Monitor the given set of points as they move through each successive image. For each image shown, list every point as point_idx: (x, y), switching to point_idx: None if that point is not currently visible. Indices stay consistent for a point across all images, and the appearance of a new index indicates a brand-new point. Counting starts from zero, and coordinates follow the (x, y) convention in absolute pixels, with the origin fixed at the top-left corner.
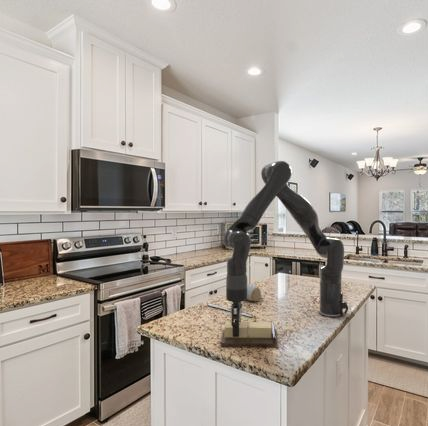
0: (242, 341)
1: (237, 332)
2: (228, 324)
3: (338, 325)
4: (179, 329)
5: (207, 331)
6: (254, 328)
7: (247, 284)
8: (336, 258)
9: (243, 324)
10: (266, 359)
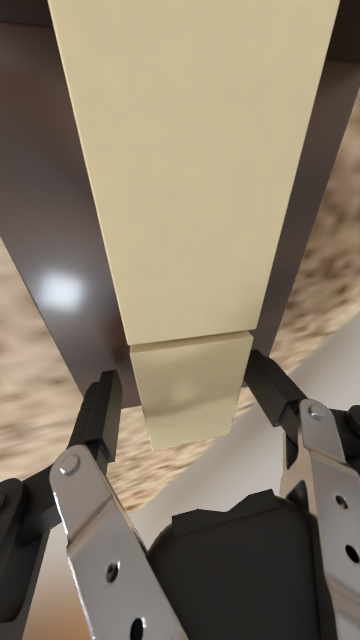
0: (264, 318)
1: (282, 371)
2: (188, 435)
3: None
4: (129, 479)
5: (127, 437)
6: (265, 276)
7: None
8: None
9: (186, 373)
10: None
